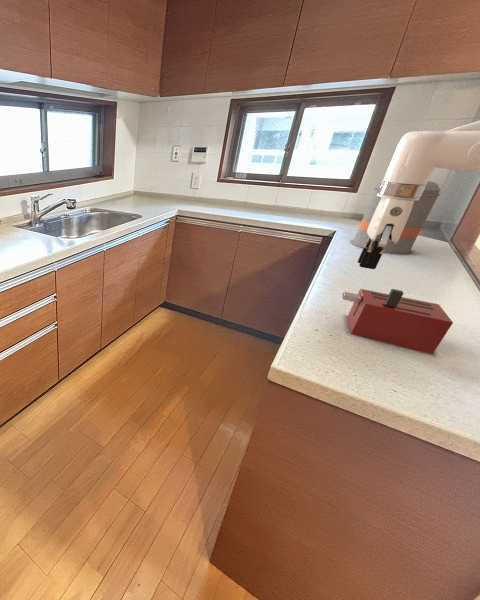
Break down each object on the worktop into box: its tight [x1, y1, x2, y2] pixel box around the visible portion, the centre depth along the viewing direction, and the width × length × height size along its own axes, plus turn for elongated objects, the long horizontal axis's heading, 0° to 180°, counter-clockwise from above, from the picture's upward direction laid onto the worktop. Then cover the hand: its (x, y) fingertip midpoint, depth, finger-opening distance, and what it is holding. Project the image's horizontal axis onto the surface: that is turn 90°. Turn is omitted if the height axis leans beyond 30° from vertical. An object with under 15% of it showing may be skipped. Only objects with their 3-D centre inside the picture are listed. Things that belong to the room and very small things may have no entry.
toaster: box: [347, 288, 454, 355], centre depth 84 cm, size 16×11×9 cm
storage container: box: [352, 180, 441, 255], centre depth 150 cm, size 22×22×35 cm
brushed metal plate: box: [341, 291, 361, 303], centre depth 87 cm, size 4×3×1 cm
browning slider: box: [385, 288, 404, 308], centre depth 80 cm, size 2×2×4 cm
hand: (366, 265), depth 83 cm, fingers closed
